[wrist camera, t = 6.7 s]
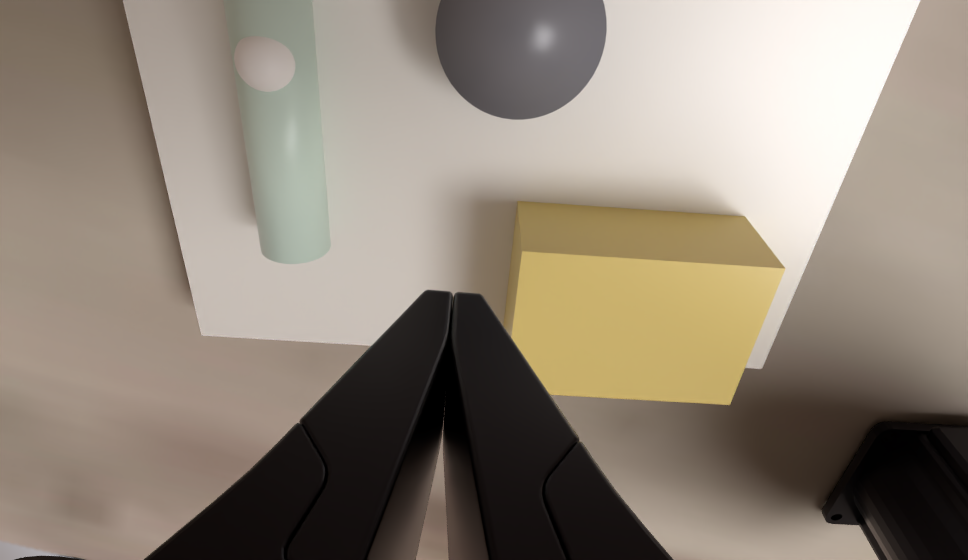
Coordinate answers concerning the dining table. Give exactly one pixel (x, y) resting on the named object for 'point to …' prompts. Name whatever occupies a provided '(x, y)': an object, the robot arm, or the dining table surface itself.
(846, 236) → the dining table surface
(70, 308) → the dining table surface
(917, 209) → the dining table surface
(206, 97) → the instrument board
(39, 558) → the french press
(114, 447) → the dining table surface
